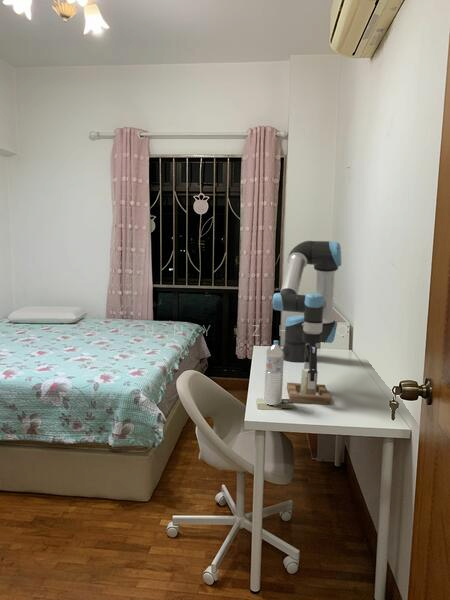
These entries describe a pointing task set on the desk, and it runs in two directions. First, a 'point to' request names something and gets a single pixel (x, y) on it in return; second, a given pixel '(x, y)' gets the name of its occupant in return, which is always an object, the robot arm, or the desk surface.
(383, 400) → the desk surface
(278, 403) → the water bottle
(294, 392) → the socket
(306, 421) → the desk surface
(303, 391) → the box
